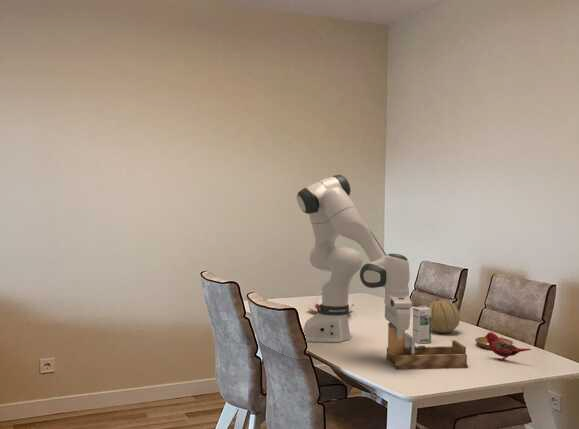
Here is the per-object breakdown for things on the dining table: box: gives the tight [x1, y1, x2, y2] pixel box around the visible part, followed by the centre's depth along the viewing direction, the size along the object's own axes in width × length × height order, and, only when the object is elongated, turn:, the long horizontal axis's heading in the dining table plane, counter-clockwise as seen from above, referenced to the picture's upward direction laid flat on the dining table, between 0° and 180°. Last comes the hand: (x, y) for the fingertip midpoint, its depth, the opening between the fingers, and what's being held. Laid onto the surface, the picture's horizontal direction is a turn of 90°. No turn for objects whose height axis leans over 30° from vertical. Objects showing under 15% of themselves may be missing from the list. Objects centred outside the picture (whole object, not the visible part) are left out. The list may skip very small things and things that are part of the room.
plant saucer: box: [474, 336, 514, 350], centre depth 256 cm, size 15×15×3 cm
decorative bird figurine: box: [484, 331, 532, 362], centre depth 234 cm, size 3×18×10 cm, turn 50°
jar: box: [387, 323, 406, 356], centre depth 229 cm, size 6×6×11 cm
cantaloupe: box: [428, 298, 461, 334], centre depth 281 cm, size 15×15×15 cm
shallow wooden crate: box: [385, 340, 469, 371], centre depth 230 cm, size 26×14×7 cm, turn 97°
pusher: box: [404, 332, 426, 355], centre depth 230 cm, size 6×9×9 cm
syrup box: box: [412, 305, 432, 345], centre depth 263 cm, size 6×6×14 cm
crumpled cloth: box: [307, 294, 355, 313], centre depth 320 cm, size 24×35×9 cm
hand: (396, 336), depth 229 cm, fingers closed on jar, 6 cm apart
